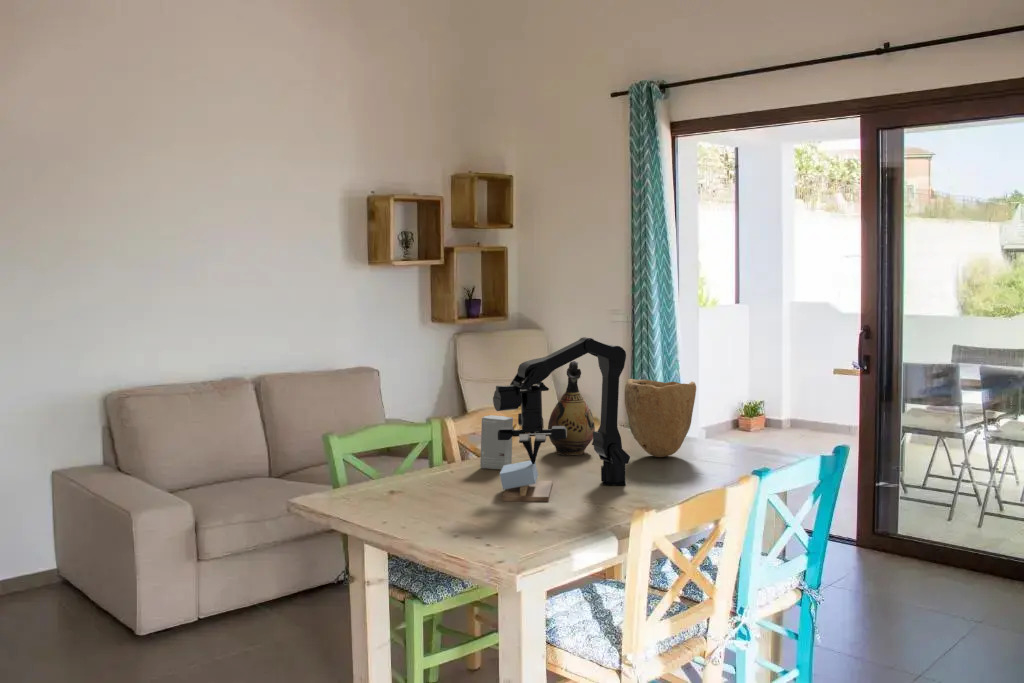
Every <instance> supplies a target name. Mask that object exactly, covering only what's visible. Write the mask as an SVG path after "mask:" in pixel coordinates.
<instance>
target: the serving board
mask: <svg viewBox="0 0 1024 683" xmlns="http://www.w3.org/2000/svg"><path fill="white" fill-rule="evenodd" d="M553 484H554V483H553V480H536V483H535V484H531V485H526V486H520V487H515V488H509V489H504V491H503V494H502V495H501V502H550V496H551V493H552V490H553Z"/></svg>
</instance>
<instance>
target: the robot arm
mask: <svg viewBox="0 0 1024 683" xmlns="http://www.w3.org/2000/svg"><path fill="white" fill-rule="evenodd" d="M586 354H589V355H592V356H594V357H596V358H597V361H598V367H599V370H600V372H601V375H602V377H601V378H602V382H601V406H600V407H601V408H600V424H599V425H600V426H599V428H598V429H597V431H596V430H595V431H593V439H592V441H591V445H592V446H593V449H594V450H593V451H595V453H596V454H598V456H599V460H600V461H602V465H601V466H600V479H601V481H600V482H602V485H603V486H626V485H627V480H626V465H629V462H630V459H631V456H630V455H629V454H628V453H627V452H626V451H625V450H624V449H623V445H622V444H623V443H622V437H621V434H620V431H619V428H618V416H619V415H618V413H619V412H618V411H619V395H620V394H619V393H620V392H619V390H620V377H621V374H622V373H623V371H624V369H625V365H626V360H627V353H626V351H625V349H624V348H623V347H622V346H619V345H614V344H609V343H606V344H605V343H604V342H603V343H602V342H599V341H598V340H595V339H594V338H592V337H586V336H583V337H580V338H579V339H578V340H576V341H574V342H572V343H570V344H568V345H566V346H565V347H561V348H560V349H558V350H555V351H554V352H553V353H550V354H548V355H546V356H544V357H538V358H533V359H531V360H530V359H529V360H526V361H523V362H522V363H520V364H519V365H518V368H517V373H516V375H515V376H514V378H512V380H511V382H510V385H509V384H508V385H496V386H495V390H494V392H493V396H492V403H493V407H494V409H495V411H496V412H502V411H504V412H505V411H512V410H513V411H514V410H518V409H519V407H520V411H521V413H518V416H517V417H518V419H517V422H518V423H517V424H518V426H521V429H514V426H513V427H501V428H500V429H499V430H498V440H509V439H510V438H511V437H512V438H514V437H515V438H516V437H517V438H519V441H518V443H520V444H523V446H524V448H525V450H526V452H527V454H528V457H529V461H530V460H531V462H532V464H535V463H536V460H537V457H538V453H539V450H540V447H541V444H543V443H546V440H547V437H549V436H552V437H553V438H554V439H566V437H567V428H566V427H565V426H552V429H548V428H546V429H545V428H544V418H543V402H542V401H543V400H542V398H543V394H542V392H547V391H549V390H550V388H549V387H547V386H546V385H545V383H544V382H543V381H545V380H546V379H547V378H548V377H549V376H550V375H551V374H552V373H553V372H554V371H555V370H557V369H559V368H561V367H563V366H564V365H567V364H570V362H572V361H575V360H577V359H578V358H580V357H583V356H585V355H586ZM532 437H534V441H533V443H532ZM532 444H533V445H532Z"/></svg>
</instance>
